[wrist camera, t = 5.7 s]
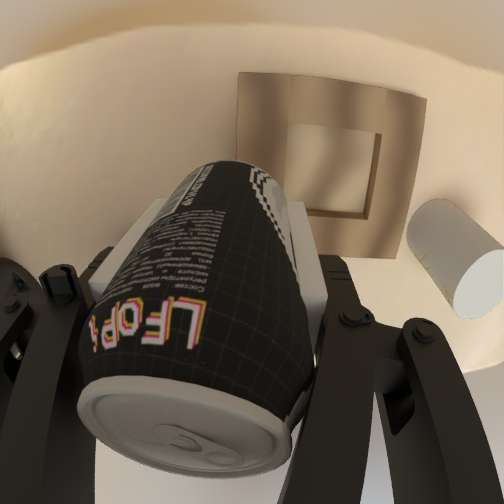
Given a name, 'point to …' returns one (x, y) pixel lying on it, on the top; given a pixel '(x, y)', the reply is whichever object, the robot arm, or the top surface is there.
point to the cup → (458, 257)
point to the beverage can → (203, 334)
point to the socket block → (335, 155)
